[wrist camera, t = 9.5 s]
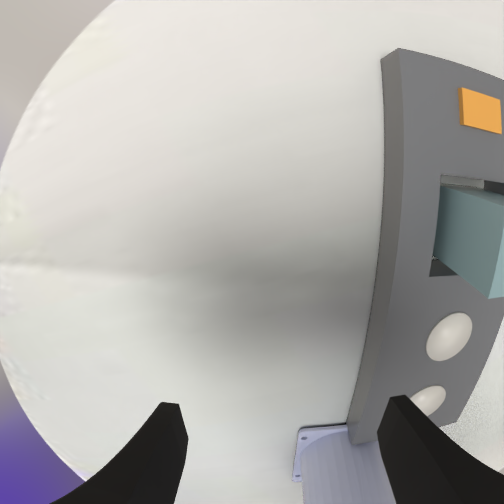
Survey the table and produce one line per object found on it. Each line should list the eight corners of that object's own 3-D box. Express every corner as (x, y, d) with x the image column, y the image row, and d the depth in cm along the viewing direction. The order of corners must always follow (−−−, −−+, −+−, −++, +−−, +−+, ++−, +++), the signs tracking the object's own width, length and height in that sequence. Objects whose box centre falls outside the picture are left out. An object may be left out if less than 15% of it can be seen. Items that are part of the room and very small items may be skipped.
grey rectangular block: (469, 247, 17) (540, 293, 10) (422, 247, 17) (491, 301, 10) (476, 187, 15) (557, 214, 8) (428, 182, 15) (510, 208, 9)
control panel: (445, 403, 21) (457, 424, 19) (346, 422, 22) (352, 448, 19) (505, 93, 13) (532, 90, 10) (380, 59, 13) (401, 45, 11)
